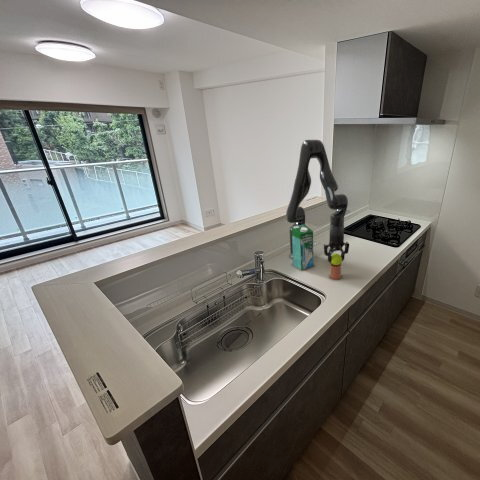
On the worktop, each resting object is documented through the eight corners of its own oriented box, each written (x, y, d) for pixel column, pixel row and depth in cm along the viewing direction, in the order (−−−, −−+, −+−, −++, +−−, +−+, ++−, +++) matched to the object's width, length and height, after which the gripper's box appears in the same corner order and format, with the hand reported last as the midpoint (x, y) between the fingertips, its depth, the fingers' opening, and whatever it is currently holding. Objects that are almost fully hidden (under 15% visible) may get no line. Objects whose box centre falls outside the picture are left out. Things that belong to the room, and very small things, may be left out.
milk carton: (301, 270, 154) (300, 230, 144) (292, 264, 160) (291, 226, 151) (313, 266, 159) (313, 227, 149) (304, 260, 165) (303, 223, 156)
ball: (328, 262, 145) (328, 252, 143) (339, 261, 146) (339, 251, 144) (332, 268, 139) (332, 257, 137) (343, 266, 141) (343, 256, 138)
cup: (329, 275, 148) (329, 262, 145) (338, 273, 149) (339, 261, 146) (332, 280, 143) (332, 267, 140) (342, 278, 144) (342, 266, 141)
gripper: (347, 229, 141) (346, 257, 147) (321, 231, 138) (321, 259, 144) (352, 233, 134) (350, 262, 140) (325, 236, 131) (325, 265, 137)
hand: (336, 261), depth 142 cm, fingers closed on ball, 6 cm apart
